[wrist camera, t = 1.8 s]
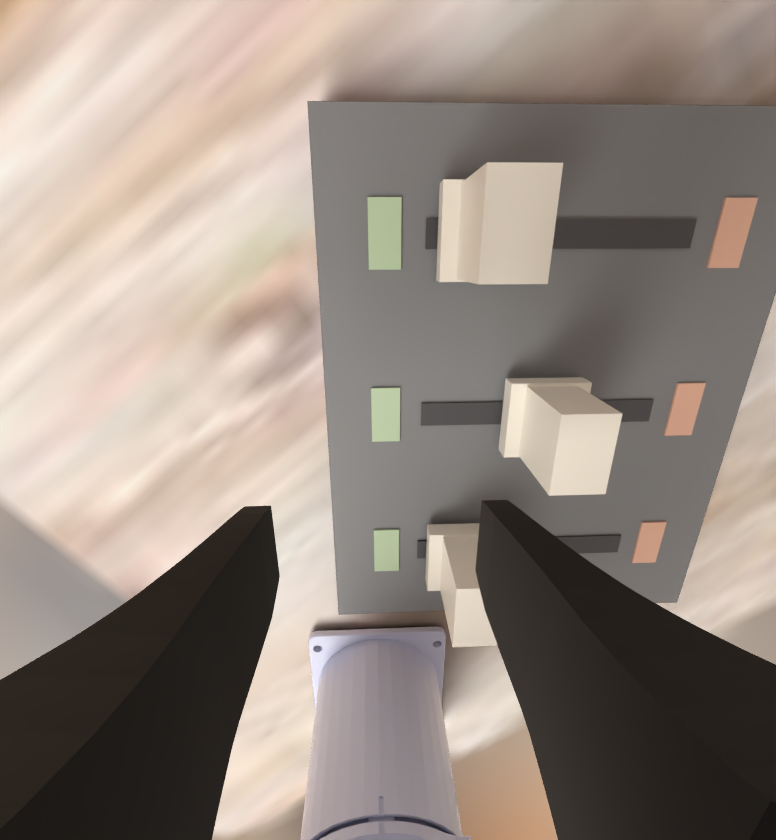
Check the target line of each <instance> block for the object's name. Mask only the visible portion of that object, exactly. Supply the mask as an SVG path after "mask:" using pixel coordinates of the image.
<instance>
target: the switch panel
mask: <svg viewBox="0 0 776 840" xmlns="http://www.w3.org/2000/svg"><path fill="white" fill-rule="evenodd" d="M308 118H309V134H310V150H311V167H312V183H313V200H314V216H315V233H316V249H317V266H318V282H319V299H320V315H321V332H322V348H323V365H324V381H325V398H326V414H327V431H328V447H329V464H330V480H331V497H332V513H333V530H334V546H335V563H336V579H337V596H338V612H339V615H341V614H368V613H396V612H424V611H445V610H444V605H443V600H442V596H441V591H427V586H426V580H425V575H426V547H427V525H431V524H467V523H480V513H481V502H482V500H508V501H510V502H511V503H512V504H514V505H515V506H517V507H518V508H519V509H520V510H522V511H523V512H524V513H526V514H527V515H528V516H529V517H531V518H532V519H533V520H535V521H536V522H537V523H538V524H540V525H541V526H542V527H544V528H545V529H546V530H547V531H549V532H550V533H551V534H553V535H554V536H555V537H556V538H558V539H559V540H560V541H562V542H563V543H564V544H566V545H567V546H568V547H570V548H571V549H573V550H574V551H575V552H577V553H578V554H579V555H581V556H582V557H584V558H585V559H587V560H588V561H589V562H591V563H592V564H594V565H595V566H597V567H598V568H600V569H601V570H603V571H604V572H606V573H607V574H609V575H610V576H612V577H613V578H615V579H616V580H618V581H619V582H621V583H622V584H624V585H625V586H627V587H629V588H630V589H632V590H633V591H635V592H637V593H638V594H640V595H642V596H644V597H645V598H647V599H649V600H650V601H652V602H654V603H674V602H677V601H678V598H679V595H680V591H681V588H682V585H683V582H684V579H685V576H686V573H687V569H688V566H689V563H690V560H691V557H692V554H693V551H694V547H695V544H696V541H697V538H698V535H699V532H700V529H701V525H702V522H703V519H704V516H705V513H706V510H707V507H708V504H709V500H710V497H711V494H712V491H713V488H714V485H715V482H716V478H717V475H718V472H719V469H720V466H721V463H722V460H723V456H724V453H725V450H726V447H727V444H728V441H729V438H730V434H731V431H732V428H733V425H734V422H735V419H736V416H737V412H738V409H739V406H740V403H741V400H742V397H743V394H744V391H745V387H746V384H747V381H748V378H749V375H750V372H751V369H752V365H753V362H754V359H755V356H756V353H757V350H758V347H759V343H760V340H761V337H762V334H763V331H764V328H765V325H766V321H767V318H768V315H769V312H770V309H771V306H772V303H773V299H774V296H775V293H776V106H737V105H639V104H541V103H443V102H345V101H308ZM487 162H524V163H563V169H562V177H561V185H560V193H559V200H558V208H557V216H556V224H555V232H554V239H553V247H552V255H551V263H550V271H549V278H548V284H479V285H478V284H474V283H470V282H438V281H436V271H437V243H438V216H439V188H440V183H441V181H442V180H443V179H467V178H468V177H469V176H471V175H472V174H473V173H474V172H476V171H477V170H478V169H479V168H481V167H482V166H483V165H484V164H486V163H487ZM565 377H583V378H585V379H587V380H588V381H590V382H592V386H591V392H590V394H592V395H593V396H595V397H597V398H598V399H600V400H601V401H603V402H605V403H606V404H608V405H610V406H611V407H613V408H614V409H616V410H618V411H619V412H621V413H622V419H621V423H620V428H619V433H618V437H617V442H616V447H615V452H614V456H613V461H612V466H611V470H610V475H609V480H608V484H607V489H606V494H595V495H556V496H549V495H548V494H547V492H546V491H545V490H544V488H543V487H542V486H541V484H540V483H539V482H538V480H537V479H536V478H535V477H534V475H533V474H532V473H531V471H530V470H529V469H528V467H527V466H526V465H525V463H524V462H523V461H522V459H521V458H520V457H507V458H504V457H503V455H502V454H501V452H500V451H499V439H500V429H501V419H502V409H503V399H504V390H505V380H506V378H565Z"/></svg>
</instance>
